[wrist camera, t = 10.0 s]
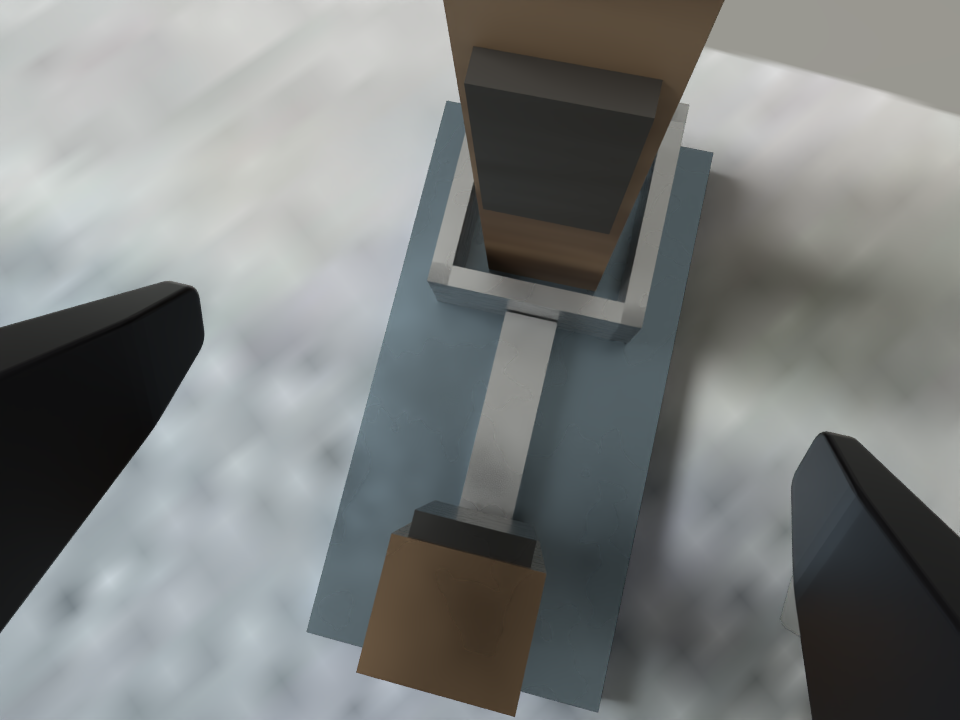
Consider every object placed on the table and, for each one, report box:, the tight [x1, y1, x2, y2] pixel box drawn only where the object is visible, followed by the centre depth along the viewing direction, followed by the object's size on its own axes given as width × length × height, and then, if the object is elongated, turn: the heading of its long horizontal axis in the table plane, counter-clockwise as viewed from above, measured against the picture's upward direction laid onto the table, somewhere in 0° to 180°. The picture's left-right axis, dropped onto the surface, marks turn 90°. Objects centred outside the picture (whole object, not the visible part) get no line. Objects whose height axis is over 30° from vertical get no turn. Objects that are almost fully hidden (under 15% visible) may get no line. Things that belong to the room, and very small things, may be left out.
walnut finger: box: [443, 0, 724, 291], centre depth 15 cm, size 5×4×14 cm
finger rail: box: [307, 101, 713, 717], centre depth 19 cm, size 18×9×7 cm, turn 166°
